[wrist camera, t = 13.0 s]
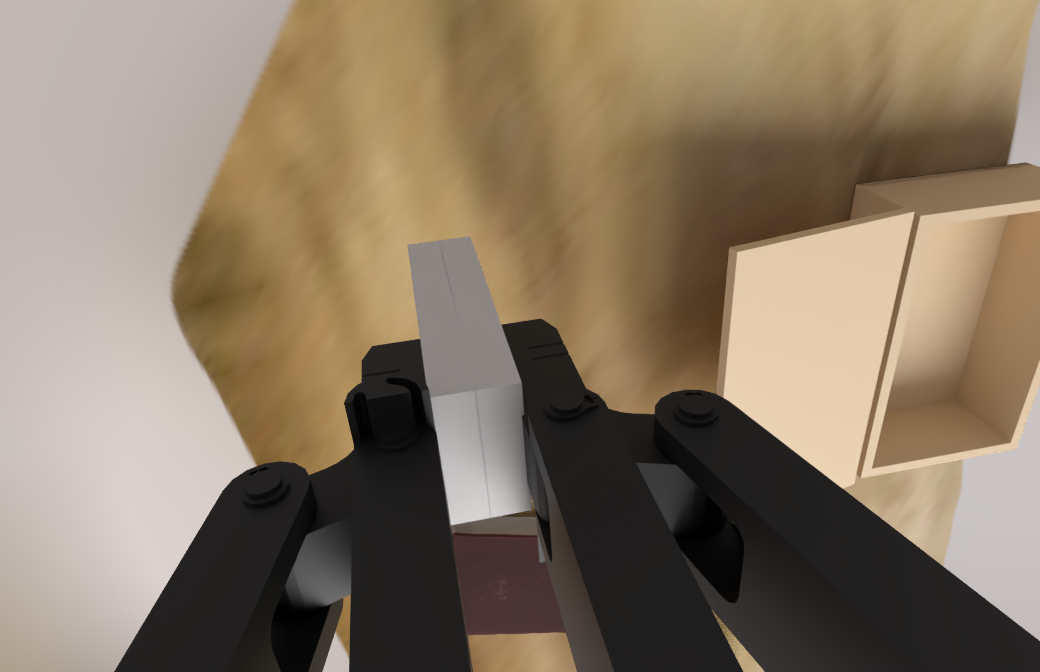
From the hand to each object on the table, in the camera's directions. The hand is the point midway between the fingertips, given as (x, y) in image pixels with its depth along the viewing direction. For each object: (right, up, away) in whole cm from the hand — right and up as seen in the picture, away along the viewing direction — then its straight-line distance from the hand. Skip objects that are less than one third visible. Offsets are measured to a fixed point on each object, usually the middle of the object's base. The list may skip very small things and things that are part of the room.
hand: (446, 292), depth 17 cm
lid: (+22, -5, +32) cm, 39 cm away
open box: (+34, +1, +41) cm, 53 cm away
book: (+4, -22, +48) cm, 53 cm away
